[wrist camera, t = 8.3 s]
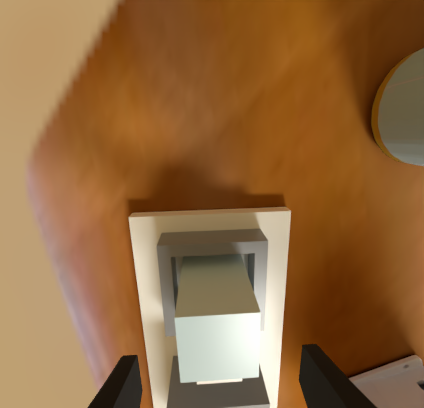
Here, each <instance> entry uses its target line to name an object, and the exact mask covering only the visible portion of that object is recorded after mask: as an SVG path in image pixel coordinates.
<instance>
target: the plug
mask: <svg viewBox="0 0 424 408" xmlns="http://www.w3.org/2000/svg"><path fill="white" fill-rule="evenodd" d="M174 319H175V329H176V340H177V351H178V361H179V372H180V383H186V382H197V385H198V384H211V383H225V382H239V381H242V378H255V377H259V354H260V322H261V312H260V309H259V306H258V303H257V300H256V297H255V294H254V291H253V288H252V285H251V283H250V280H249V277H248V274H247V271H246V268H245V265H244V262H243V259H242V257H241V254H227V255H206V256H184V257H183V262H182V269H181V276H180V283H179V289H178V296H177V303H176V310H175V317H174Z"/></svg>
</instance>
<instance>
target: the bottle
mask: <svg viewBox="0 0 424 408" xmlns="http://www.w3.org/2000/svg"><path fill="white" fill-rule="evenodd" d="M371 126H372V131H373V134H374V138H375V141H376V143H377V144H378V146H379V147H380V148H381V150H382V151H383V152H384V153H385V154H386V155H387V156H389V157H390V158H392V159H394V160H395V161H398V162H403V163H408V164H414V165H420V166H424V48H422V49H420V50H418V51H416V52H414V53H412V54H410V55H408V56H406V57H405V58H404V59H402V60H401V61H400V62H399V63H398V64H397V65H396V66H395V67H394V68H392V69H391V71H390V72H389V73H388V74H387V76H386V77H385V79H384V81H383V82H382V84H381V85H380V87H379V89H378V91H377V94H376V97H375V100H374V103H373V107H372V118H371Z"/></svg>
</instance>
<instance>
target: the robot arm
mask: <svg viewBox="0 0 424 408" xmlns="http://www.w3.org/2000/svg"><path fill="white" fill-rule="evenodd" d="M299 382H300V385H301V388H302V392H303V395H304V398H305V401H306V404H307V407H308V408H424V366H423V363H422V360H421V359H420V358H419V357H418V356H417V355H412V356H409V357H406V358H404V359H401V360H398V361H395V362H393V363H390V364H387V365H384V366H382V367H379V368H376V369H373V370H370V371H368V372H365V373H362V374H359V375H357V376H354V377H351V378H348V377H347V376H346V375H345V374H344V373H343V372H342V371H341V370H340V369H339V368H338V367H337V366H336V365H335V364H334V363H333V361H332V360H331V359H330V358H329V357H328V356H327V355H326V354H325V353H324V352H323V351H322V350H321V348H320V347H319V346H318V345H317V344H309V345H302V355H301V365H300V375H299ZM141 396H142V384H141V377H140V370H139V363H138V356H137V355H127V356H122V357H121V358H120V360H119V361H118V363H117V365H116V366H115V368H114V369H113V371H112V372H111V374H110V376H109V377H108V379H107V380H106V382H105V383H104V385H103V386H102V388H101V389H100V391H99V392H98V394H97V395H96V396H95V398H94V399H93V401H92V402H91V403H90V405H89V406H88V408H140V402H141Z"/></svg>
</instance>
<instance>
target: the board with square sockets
mask: <svg viewBox="0 0 424 408" xmlns="http://www.w3.org/2000/svg"><path fill="white" fill-rule="evenodd" d="M128 218H129V226H130V233H131V241H132V248H133V256H134V263H135V271H136V278H137V286H138V293H139V301H140V308H141V316H142V324H143V331H144V339H145V346H146V354H147V361H148V369H149V376H150V384H151V391H152V399H153V407H154V408H277V400H278V386H279V372H280V359H281V345H282V331H283V317H284V303H285V289H286V275H287V261H288V247H289V233H290V220H291V210H289V209H288V208H287V207H266V208H240V209H215V210H189V211H163V212H138V213H132V214H131V215H130V216H129V217H128ZM227 254H241V257H242V259H243V262H244V265H245V268H246V271H247V274H248V277H249V280H250V283H251V285H252V288H253V291H254V294H255V297H256V300H257V303H258V306H259V309H260V312H261V322H260V354H259V377H255V378H242V381H239V382H225V383H211V384H198V385H197V382H186V383H180V372H179V361H178V351H177V340H176V329H175V319H174V317H175V310H176V303H177V296H178V289H179V283H180V276H181V269H182V262H183V257H184V256H206V255H227Z"/></svg>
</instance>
